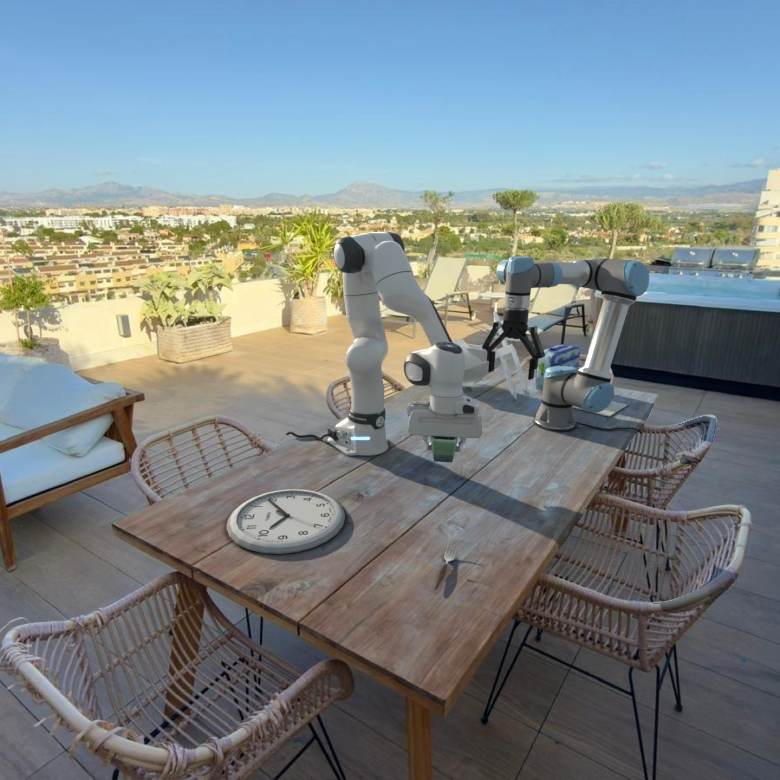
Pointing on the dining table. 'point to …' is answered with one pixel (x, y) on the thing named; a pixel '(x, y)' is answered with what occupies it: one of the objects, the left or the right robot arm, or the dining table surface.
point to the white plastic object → (479, 365)
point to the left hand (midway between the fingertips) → (443, 450)
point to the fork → (448, 558)
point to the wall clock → (285, 521)
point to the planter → (443, 448)
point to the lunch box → (556, 361)
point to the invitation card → (610, 408)
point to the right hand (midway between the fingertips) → (510, 375)
